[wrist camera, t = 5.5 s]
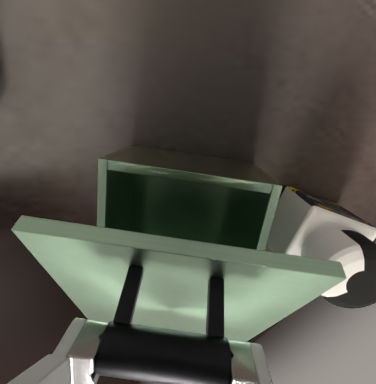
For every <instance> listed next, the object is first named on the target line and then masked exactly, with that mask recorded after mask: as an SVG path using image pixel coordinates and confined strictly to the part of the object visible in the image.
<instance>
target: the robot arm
mask: <svg viewBox="0 0 376 384" xmlns="http://www.w3.org/2000/svg"><path fill="white" fill-rule="evenodd" d="M107 324H108V323H106V322H100V321H95V320H89V319H82V318H75V319H74V320H73V321H72V323H71V324H70V326H69V328H68V329H67V331H66V332H65V334H64V336H63V337H62V339H61V341H60V343H59V344H58V346H57V347H56V349H55V351H54V352H53V354H52V355H50V354H48V355H47V356H45V357H44V358H42V359H41V360H40V361H38V362H37V363H36V364H34V365H33V366H31V367H30V368H28V369H27V370H26V371H24V372H23V373H21V374H20V375H19V376H17V377H16V378H14V379H13V380H12V381H10V382H9V383H7V384H96V383H97V380H98V378H99V375H97V374H96V373H95V361H96V356H97V351H98V347H99V343H100V340H101V337H102V334H103V332H104V329H105V327H106V326H107ZM228 341H229V344H230V350H231V376H230V384H273V383H272V379H271V376H270V372H269V369H268V365H267V362H266V358H265V355H264V351H263V347H262V346H261V345H260V344H256V343H248V342H244V341H236V340H228Z"/></svg>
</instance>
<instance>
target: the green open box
mask: <svg viewBox="0 0 376 384" xmlns="http://www.w3.org/2000/svg"><path fill="white" fill-rule="evenodd" d="M282 187H283V186H282V185H281V184H280V183H278V182H277V181H276V180H275V179H273V178H272V177H271V176H270V175H268V174H267V173H266V172H265V171H263V170H262V169H261V168H259V167H258V166H257V165H256V164H254V163H251V162H245V161H238V160H231V159H224V158H218V157H211V156H204V155H198V154H191V153H184V152H177V151H171V150H164V149H157V148H150V147H144V146H137V145H131V146H128V147H126V148H123V149H121V150H118V151H116V152H113V153H111V154H109V155H106V156H104V157H101V158H99V159H98V194H97V226H98V227H105V228H112V229H119V230H126V231H133V232H139V233H146V234H153V235H160V236H167V237H174V238H180V239H187V240H194V241H201V242H208V243H215V244H221V245H228V246H235V247H242V248H249V249H256V250H262V251H265V248H266V244H267V240H268V237H269V233H270V230H271V226H272V223H273V219H274V216H275V212H276V209H277V205H278V201H279V198H280V194H281V191H282Z"/></svg>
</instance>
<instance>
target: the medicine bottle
mask: <svg viewBox="0 0 376 384" xmlns="http://www.w3.org/2000/svg"><path fill="white" fill-rule="evenodd" d="M375 238H376V228H375V227H374V226H372V225H370V224H369V223H367V222H366V221H364V220H362V219H361V218H359V217H357V216H356V215H354V214H353V213H351V212H349V211H348V210H346V209H344V208H343V207H341V206H340V205H338V204H336V203H333V202H330V201H327V200H325V199H322V198H319V197H317V196H314V195H311V194H309V193H306V192H303V191H301V190H298V189H295V188H293V187H290V186H287V187H286V188H285V190H284V191H283V193H282V195H281V197H280V199H279V201H278V205H277V209H276V212H275V216H274V219H273V223H272V226H271V230H270V233H269V237H268V240H267V244H268V246H269V248H270V250H271V252H276V253H283V254H290V255H297V256H304V257H310V258H317V259H324V260H331V261H338V262H341V264H342V267H343V269H344V272H345V275H346V279H345V280H344V281H342V282H340V283H339V284H337V285H336V286H334V287H332V288H331V289H329V290H328V291H326V292H324V293H323V294H321V295H322V296H323V297H324V298H325V299H326V300H327V301H328V302H330V303H332V304H334V305H336V306H340V307H344V308H361V307H365V306H369V305H371V304H374V303H376V244H375V243H374V242H373V240H374V239H375Z"/></svg>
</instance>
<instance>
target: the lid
mask: <svg viewBox="0 0 376 384" xmlns="http://www.w3.org/2000/svg"><path fill="white" fill-rule="evenodd" d="M12 231H13V232H14V234H16V236H17V237H18V238H19V239H20V241H21V242H22V243H23V244H24V245H25V246H26V247H27V249H28V250H29V251H30V252H31V253H32V254H33V256H34V257H35V258H36V259H37V260H38V261H39V263H40V264H41V265H42V266H43V267H44V268H45V270H46V271H47V272H48V273H49V274H50V275H51V276H52V278H53V279H54V280H55V281H56V282H57V283H58V285H59V286H60V287H61V288H62V289H63V290H64V292H66V294H67V295H68V296H69V297H70V299H71V300H72V301H73V302H74V303H75V304H76V305H77V307H78V308H79V309H80V310H81V311H82V312H83V314H84V315H85V316H86V317H87V318H88V319H89V320H95V321H100V322H106V323H108V324H107V326H106V327H105V329H104V332H103V334H102V337H101V340H100V343H99V347H98V351H97V356H96V361H95V373H96V374H97V375H102V376H110V377H116V378H123V379H130V380H139V381H144V382H152V383H159V384H230V376H231V350H230V344H229V341H228V340H236V341H244V342H246V341H248V340H250V339H251V338H253V337H254V336H256V335H258V334H259V333H261V332H262V331H264V330H265V329H267V328H269V327H270V326H272V325H273V324H275V323H277V322H278V321H280V320H281V319H283V318H285V317H286V316H288V315H289V314H291V313H292V312H294V311H296V310H297V309H299V308H301V307H302V306H304V305H305V304H307V303H309V302H310V301H312V300H313V299H315V298H316V297H318V296H320V295H321V294H323V293H324V292H326V291H328V290H329V289H331V288H332V287H334V286H336V285H337V284H339V283H340V282H342V281H344V280H345V279H346V275H345V272H344V269H343V267H342V264H341V262H338V261H331V260H324V259H317V258H310V257H304V256H297V255H290V254H283V253H276V252H269V251H262V250H256V249H249V248H242V247H235V246H228V245H221V244H215V243H208V242H201V241H194V240H187V239H180V238H174V237H167V236H160V235H153V234H146V233H139V232H133V231H126V230H119V229H112V228H105V227H98V226H92V225H85V224H78V223H71V222H64V221H57V220H51V219H44V218H37V217H30V216H23V215H22V216H21V217H20V218H19V219H18V221H17V222H16V223H15V225H14V226H13V227H12Z"/></svg>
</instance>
